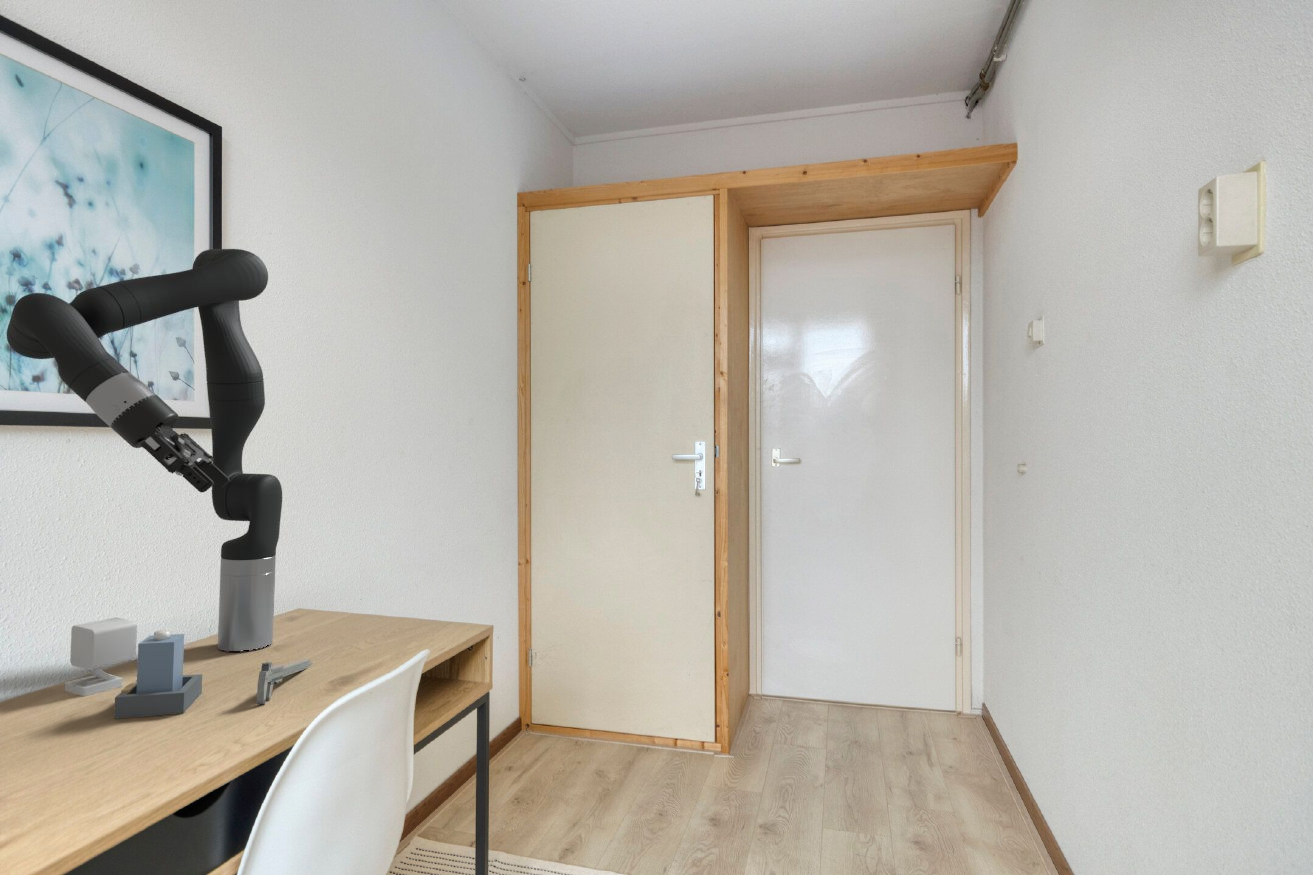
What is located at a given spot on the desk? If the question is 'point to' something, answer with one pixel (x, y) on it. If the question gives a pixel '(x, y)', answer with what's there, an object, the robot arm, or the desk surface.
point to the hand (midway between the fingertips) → (217, 486)
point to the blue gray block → (160, 663)
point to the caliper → (275, 677)
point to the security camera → (100, 653)
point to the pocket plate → (157, 699)
